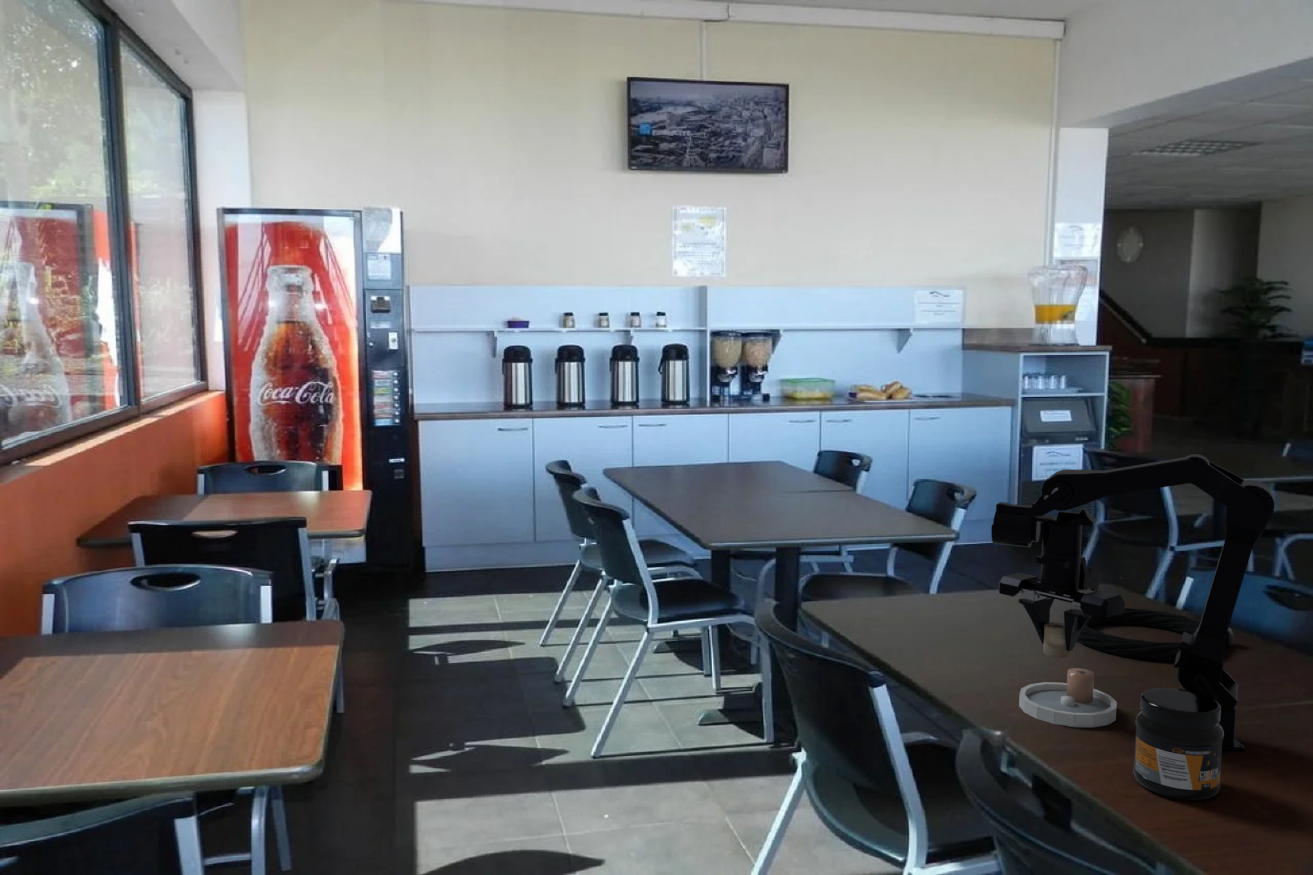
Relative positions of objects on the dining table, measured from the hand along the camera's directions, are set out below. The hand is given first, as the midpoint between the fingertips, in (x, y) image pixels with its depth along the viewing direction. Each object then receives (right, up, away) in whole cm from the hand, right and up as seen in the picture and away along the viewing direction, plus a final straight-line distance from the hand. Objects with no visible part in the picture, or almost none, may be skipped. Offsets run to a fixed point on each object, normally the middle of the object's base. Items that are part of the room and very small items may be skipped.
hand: (1057, 647), depth 161 cm
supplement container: (+6, -14, -24) cm, 29 cm away
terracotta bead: (+6, -10, +5) cm, 12 cm away
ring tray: (+3, -11, +3) cm, 11 cm away
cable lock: (+33, -7, +39) cm, 52 cm away
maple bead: (0, -1, 0) cm, 1 cm away
